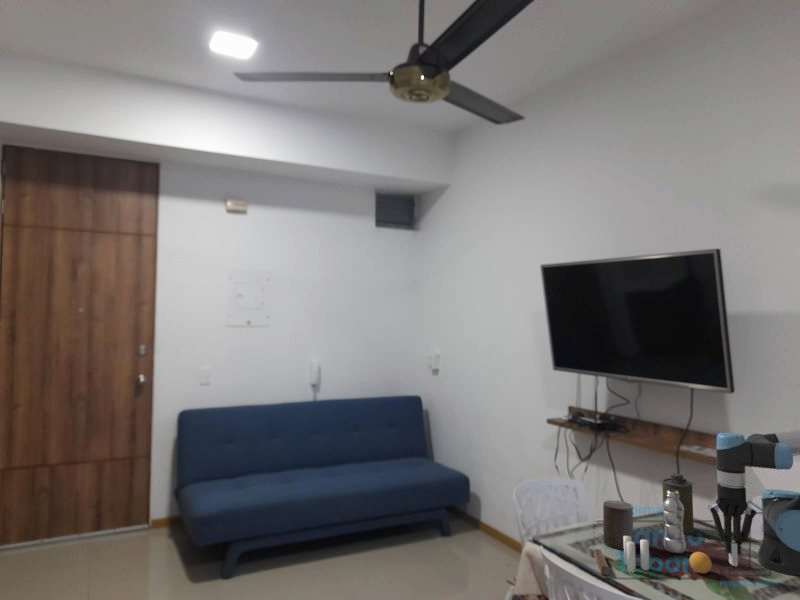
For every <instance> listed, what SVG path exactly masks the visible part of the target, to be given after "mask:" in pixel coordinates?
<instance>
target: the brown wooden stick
mask: <svg viewBox="0 0 800 600" xmlns="http://www.w3.org/2000/svg"><path fill="white" fill-rule="evenodd" d="M593 550H594V551H593V553H594V554H593V555H594V556H595V557H594V556H593V557H594V560H595V559H596V560H595V562H596V564H598V565H597V566H598V570H599V569H600V570H599V571H600V574H602V575H601V576H609V565H608V563H607V561H606V558H605V556H604V554H603V552H602V550H601V549H600V548H599V549H597V548H594V549H593Z"/></svg>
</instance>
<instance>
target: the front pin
mask: <svg viewBox="0 0 800 600" xmlns="http://www.w3.org/2000/svg"><path fill="white" fill-rule="evenodd" d="M639 543H640V544H639V545H640V547H639V548H640V550H639V551H640V569H641V570H642V569H643V570H642V571H649V570H650V550H649V549H650V546H649V545H650V544H649V543H650V541H649V540H647V539H643V538H642V539H640V540H639Z"/></svg>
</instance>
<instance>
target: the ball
mask: <svg viewBox="0 0 800 600" xmlns="http://www.w3.org/2000/svg"><path fill="white" fill-rule="evenodd" d="M689 565H690V566H691V568H692V569H693V571H695V572H696V573H698V574H707V573H709V572H710V571H711V569H712V567H713V566H712V565H713V563H712V560H711V558H710V557H709V555H707V554H706V553H704V552H702V551H695V552H693V553H692V554H690V557H689Z"/></svg>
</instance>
